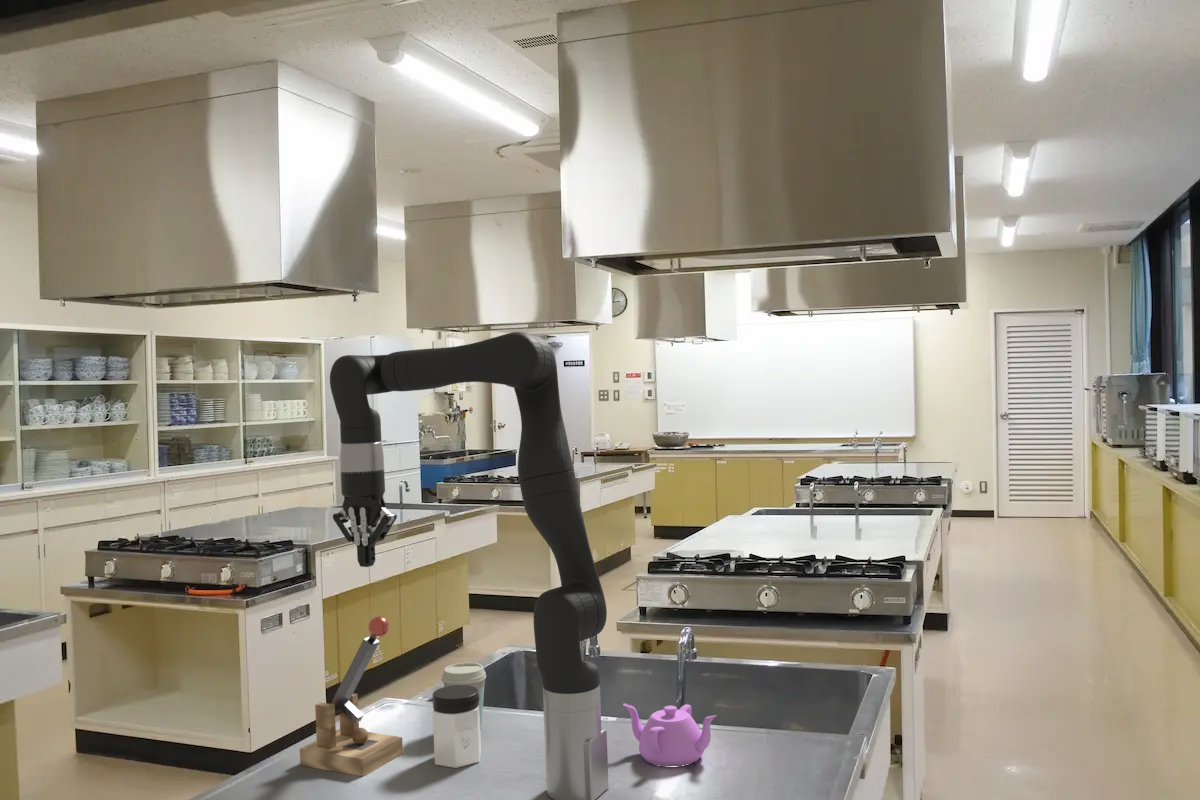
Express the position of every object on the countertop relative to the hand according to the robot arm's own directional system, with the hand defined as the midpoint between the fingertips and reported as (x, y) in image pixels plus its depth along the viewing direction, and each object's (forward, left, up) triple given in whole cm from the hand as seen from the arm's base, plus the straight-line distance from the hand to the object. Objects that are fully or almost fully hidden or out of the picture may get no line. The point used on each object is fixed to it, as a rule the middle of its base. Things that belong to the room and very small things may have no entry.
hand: (366, 566), depth 174 cm
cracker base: (+5, 0, -35) cm, 35 cm away
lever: (+7, 0, -28) cm, 29 cm away
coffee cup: (-6, -20, -35) cm, 41 cm away
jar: (-13, -7, -35) cm, 38 cm away
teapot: (-48, -21, -35) cm, 63 cm away
